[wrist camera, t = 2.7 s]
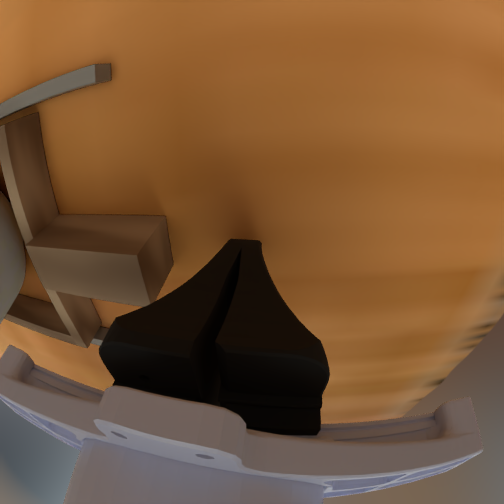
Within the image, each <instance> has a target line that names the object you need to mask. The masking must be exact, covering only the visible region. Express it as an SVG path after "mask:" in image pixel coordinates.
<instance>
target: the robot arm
mask: <svg viewBox="0 0 504 504" xmlns="http://www.w3.org/2000/svg"><path fill="white" fill-rule="evenodd" d="M261 247H262V243H261V242H260V241H258V240H243V239H230V240H229V241H228V242H227V243H226V244H225V245H224V246H223V248H222V249H221V250H220V251H219V252H218V253H217V254H216V255H215V256H214V257H213V258H212V259H211V260H210V261H209V262H208V264H206V265H205V266H204V267H203V268H202V269H201V270H200V271H199V272H198V273H197V274H196V275H194V276H193V277H192V278H191V279H190V280H188V281H187V282H186V283H184V284H183V285H182V286H180V287H179V288H177V289H176V290H174V291H172V292H171V293H169V294H167V295H166V296H164V297H163V298H161V299H159V300H157V301H155V302H153V303H151V304H149V305H147V306H145V307H143V308H140V309H138V310H135V311H133V312H130V313H128V314H125V315H122V316H119V317H116V319H115V320H114V322H113V323H112V325H111V326H110V328H109V330H108V332H107V334H106V336H105V338H104V340H103V342H102V344H101V345H100V347H99V354H100V357H101V359H102V361H103V363H104V364H105V366H106V367H107V369H108V370H109V372H110V373H111V375H112V376H113V378H114V379H115V381H114V383H113V386H111V387H109V388H107V389H106V390H105V391H102V390H99V389H96V388H93V387H90V386H87V385H84V384H81V383H79V382H76V381H74V380H71V379H68V378H66V377H63V376H61V375H59V374H56V373H54V372H51V371H49V370H47V369H45V368H42V367H40V366H38V365H36V364H34V362H33V360H32V359H31V358H30V356H29V355H28V354H27V353H25V352H24V351H22V350H20V349H18V348H16V347H14V346H12V345H9V346H8V348H7V349H6V351H5V352H4V354H3V356H2V357H1V359H0V399H1V400H2V401H3V402H4V403H6V404H7V405H8V406H9V407H10V408H11V409H12V410H13V411H15V412H16V413H17V414H19V415H20V416H22V417H23V418H25V419H26V420H28V421H29V422H31V423H32V424H34V425H36V426H37V427H39V428H40V429H42V430H44V431H45V432H47V433H49V434H50V435H52V436H54V437H56V438H57V439H59V440H61V441H63V442H65V443H66V444H69V445H70V446H72V447H74V448H76V449H78V450H80V454H79V456H78V459H77V462H76V465H75V468H74V471H73V474H72V477H71V480H70V483H69V487H68V490H67V493H66V496H65V500H64V503H63V504H323V498H326V497H336V496H344V495H352V494H358V493H364V492H370V491H375V490H380V489H385V488H389V487H394V486H398V485H402V484H406V483H410V482H413V481H417V480H421V479H424V478H427V477H430V476H434V475H437V474H440V473H443V472H446V471H448V470H450V469H452V468H454V467H456V466H458V465H460V464H462V463H464V462H465V461H467V460H469V459H471V458H472V457H474V456H476V455H477V454H479V453H481V452H482V451H483V446H482V441H481V436H480V432H479V428H478V424H477V420H476V416H475V413H474V409H473V405H472V402H471V399H470V397H469V396H467V397H463V398H459V399H455V400H450V401H447V402H445V403H443V404H442V405H440V406H439V407H438V408H437V409H436V410H435V412H432V413H428V414H422V415H416V416H410V417H403V418H396V419H388V420H379V421H369V422H356V423H338V424H321V416H320V408H321V407H322V394H323V392H324V390H325V388H326V385H327V383H328V381H329V376H330V372H329V366H328V361H327V357H326V354H325V351H324V348H323V346H322V343H321V341H320V340H319V339H318V338H317V337H315V336H314V335H313V334H312V333H311V332H310V331H309V330H308V329H307V328H306V327H305V326H304V325H303V324H302V323H301V322H300V321H299V320H298V319H297V317H296V316H295V315H294V314H293V312H292V311H291V310H290V309H289V307H288V306H287V305H286V303H285V302H284V300H283V299H282V297H281V296H280V294H279V292H278V291H277V289H276V287H275V285H274V283H273V281H272V279H271V277H270V274H269V272H268V270H267V267H266V264H265V261H264V258H263V254H262V248H261Z"/></svg>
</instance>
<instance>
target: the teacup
mask: <svg viewBox="0 0 504 504" xmlns="http://www.w3.org/2000/svg"><path fill="white" fill-rule="evenodd" d="M25 271H26V259H25V251H24V243H23V237H22V234H21V231H20V228H19V226H18V223H17V220H16V217H15V214H14V211H13V208H12V206H11V204H10V203H9V201H8V200H7V198H6V197H5V195H4V194H3V193H2V192H1V191H0V323H1V322H2V320H3V319H4V317H5V315H6V314H7V312H8V310H9V309H10V307H11V305H12V304H13V302H14V300H15V299H16V297H17V295H18V293H19V291H20V289H21V287H22V285H23V281H24V278H25Z"/></svg>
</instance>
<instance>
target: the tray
mask: <svg viewBox="0 0 504 504" xmlns="http://www.w3.org/2000/svg"><path fill="white" fill-rule="evenodd" d="M0 162H1V167H2V171H3V175H4V179H5V183H6V187H7V191H8V194H9V198H10V201H11V204H12V208H13V211H14V214H15V217H16V220H17V223H18V226H19V228H20V231H21V234H22V237H23V239H24V242H25V244H26V245H25V246H26V249H27V251H28V254H29V256H30V259H31V261H32V263H33V266H34V268H35V270H36V272H37V274H38V277H39V279H40V281H41V283H42V285H43V287H44V289H46V291H47V293H48V295H49V297H50V299H51V301H52V303H49V302H45V301H41V300H38V299H34V298H30V297H27V296H23V295H20V294H18V295H17V297H16V299H15V300H14V302H13V304H12V305H11V307H10V309H9V310H8V312H7V314H6V315H5V317H4V319H6V320H9V321H11V322H14V323H16V324H18V325H21V326H23V327H26V328H28V329H31V330H34V331H36V332H39V333H42V334H45V335H47V336H50V337H53V338H56V339H59V340H62V341H65V342H68V343H71V344H74V345H78V346H81V347H84V348H88V347H89V345H90V343H91V341H92V340H93V338H94V336H95V334H96V332H97V331H98V329H99V327H100V325H101V324H102V323H101V321H100V318H99V316H98V314H97V312H96V310H95V308H94V306H93V304H92V301H91V299H90V298H93V299H99V300H104V301H110V302H116V303H122V304H128V305H135V306H141V307H145V306H147V305H149V304H151V303H153V302H155V300H156V298H157V296H158V294H159V292H160V290H161V288H162V286H163V284H164V282H165V280H166V278H167V276H168V274H169V272H170V270H171V268H172V267H173V265H174V264H173V259H172V253H171V247H170V242H169V236H168V229H167V223H166V216H146V215H59V212H58V209H57V205H56V202H55V198H54V194H53V190H52V186H51V182H50V178H49V173H48V169H47V164H46V159H45V154H44V148H43V142H42V136H41V130H40V122H39V114H38V112H37V113H34V114H31V115H28V116H25V117H23V118H20V119H17V120H15V121H12V122H9V123H7V124H4V125H2V126H0Z"/></svg>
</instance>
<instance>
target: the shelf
mask: <svg viewBox="0 0 504 504" xmlns="http://www.w3.org/2000/svg"><path fill="white" fill-rule="evenodd" d="M110 80H111V64H93V65H90V66H87V67H84V68H81V69H78V70H75V71H72V72H70V73H67V74H64V75H61V76H59V77H56V78H54V79H51V80H49V81H47V82H44V83H42V84H40V85H37V86H35V87H33V88H31V89H29V90H26V91H24V92H22V93H20V94H18V95H16V96H14V97H12V98H10V99H8V100H7V101H5V102H3V103H1V104H0V120H1V119H3V118H5V117H7V116H9V115H11V114H13V113H16V112H18V111H20V110H22V109H25V108H27V107H30V106H32V105H34V104H37V103H40V102H42V101H45V100H47V99H50V98H53V97H56V96H59V95H62V94H65V93H68V92H71V91H74V90H77V89H81V88H84V87H87V86H91V85H95V84H98V83H102V82H106V81H110ZM108 330H109V329H108V328H104V327H99V329H98V331H97V332H96V334H95V336H94V338H93V340H92V341H91V343H92V344H96V345H99V346H100V345H101V344H102V342H103V340H104V338H105V336H106V334H107V332H108Z"/></svg>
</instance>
